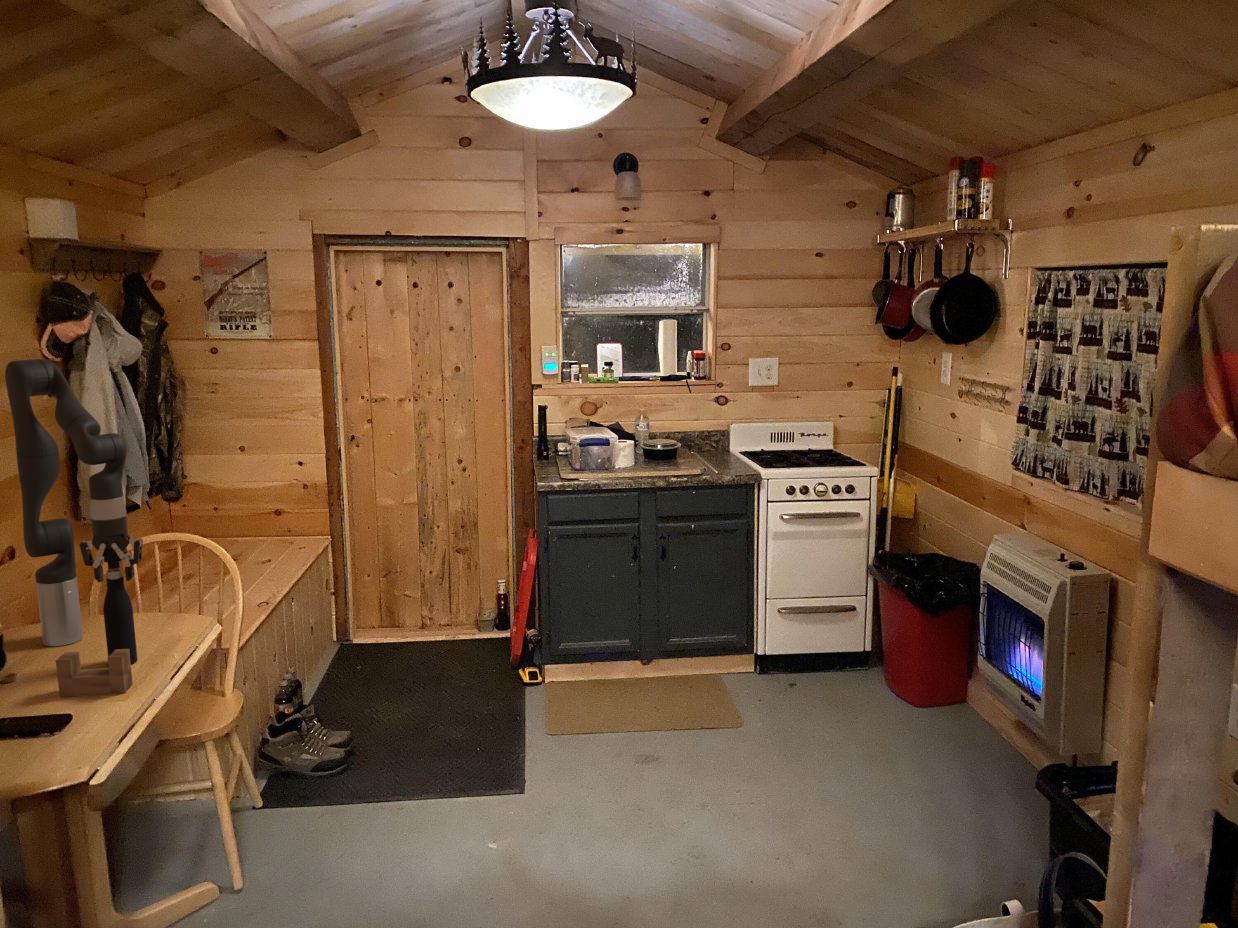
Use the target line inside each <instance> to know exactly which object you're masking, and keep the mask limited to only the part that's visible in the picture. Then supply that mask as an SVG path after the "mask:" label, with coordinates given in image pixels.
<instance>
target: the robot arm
mask: <svg viewBox="0 0 1238 928" xmlns="http://www.w3.org/2000/svg"><path fill="white" fill-rule="evenodd" d="M4 377H5V380H4V381H5V387H6V391H7V395H8V396H7V397H8V400H9V406H10V411H11V415H12V422H13V428H14V429H13V430H14V439H15V452H16V454H15V455H16V463H17V469H18V470H17V471H18V472H17V473H18V477H19V483H20V484H19V485H20V491H21V500H22V501H21V502H22V503H21V504H22V527H23V533H22V534H23V544H24V548H25V550H26V551H25V552H26V553H27V555H28V556H29V557H30V558H43V557H49V556H53V555H54V556H55V555H57V556H56V557H55V558H54V559H53V560H51V561H50V562H48V563H47V564H45V565H44V566H41V567H39V568H38V569H37V570H36V571H35V574H34V577H35V587H36V594H37V603H38V611H39V620H40V627H41V638H42V644H43V646H47V647H59V646H60V647H61V646H66V645H71V644H74V643H77V642H80V640H82V639H83V638H84V635H83V634H84V633H83V623H82V616H81V615H82V614H81V606H80V596H79V586H78V579H77V564H76V552H75V550H76V549H75V533H74V528H73V525H72V522H71V521H70V520H69V519H68V518H66V517H63V518H62V517H61V518H54V519H47V520H40V517H41V512H42V507H43V505H44V502H45V500H46V497H47V496H48V495H49V493H50V491H51V490H52V488H53V486H54V484H56V482H57V479H58V478H59V477H60V476H59V475H60V473H61V459H60V452H59V445H58V443H57V442H56V440H55V439H54V437H53V436H52V435H51V434H50V433H49V431H48V430H47V429H46V428H45V427H44V426H43V425H42V423H40V421H39V420H38V418H37V416H35V413H34V410H33V407H32V403H31V397H40V396H47V395H50V396H52V398H54V399H55V400H56V402H55V408H54V417H55V420H56V422H57V424H58V426H59V428H61V429H62V431H64V433H65V434H66V435H67V436H68V437H69V438H70V439H71V442H72V444H73V447H74V449H75V452H76V455H77V457H78V459H79V460H80V462H82V463H84V464H86V465H88V466H95V465H96V466H97V465H104V464H105V465H104V467H103V469H102V470H101V471H99V472H96V473H94V474H92V475H90V476H89V477H88V478H89V479H88V487H89V498H90V500H89V502H90V504H89V505H90V506H89V509H90V519H91V530H92V540H87V539H85V540H83V541H82V542H80V543H79V548H80V552H81V556H82V560H83V564H84V565H85V566H86V567H92V569H93V572H94V573H93V575H94V580H95V581H96V582H97V583H102V582H104V579H105V578H104V577H105V576H104V568H103V565H102V563H103V562H104V550H113V549H114V550H115V551H116V553H117V555H118V556H119V558H120V559H121V561H122V562H123V563H124V565H125V567H124V571H125V581H126V582H130V581H131V580H132V579H134V577H135V567H134V565H138V564H139V563H140V562H141V561H142V559H143V557H142V556H143V555H142V554H143V545H144V543H143V542H144V540H143V538H138V539H135V538H130V536H129V532H128V531H129V530H128V520H127V509H126V502H125V500H124V498H125V497H124V491H123V490H124V489H123V475H124V470H125V464H126V460H127V456H128V455H127V454H128V447H127V442H126V440H125V439H124V437H122V436H121V435H120V434H119V433H105V434H101V431H102V430H101V429H102V427H101V425H100V423H99V422H98V421H97V419H96V418H95V417H94V416H93V415H92V414H91V413H90V412H89V411H88V410H87V409H86V408H85V407H84V406H83V405H82V403H81V402H80V401H79V399H78V398H77V396H76V394H75V392H74V390H73V389H72V387H71V386H70V384H69V382H68V380H67V379H66V377H65V376H64V374H63V373H62V371H61V369H60V368H59V367H58V365H56V364H55V363H54V362H53V361H52V360H49V359H45V358H38V359H35V358H33V359H20V360H11V361H9V362H8V363H7V365H6V367H5V372H4ZM129 545H130V546H131V548H132V549H133V554H132V555H133V557H132V556H131V553H130V551H129V549H128V548H127V547H128V546H129ZM92 547H94V548H95V549H96V550H97V552H96V556H95V557H94V556H93V553H92V549H93V548H92ZM93 557H94V558H93Z"/></svg>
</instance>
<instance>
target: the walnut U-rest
mask: <svg viewBox="0 0 1238 928" xmlns="http://www.w3.org/2000/svg"><path fill="white" fill-rule="evenodd" d="M55 666H56V675H57V684H58V693H59V698H72V697H73V698H74V697H85V696H102V695H103V696H105V695H119V694H126V692H128V691H129V689H131V687H132V686H133V684H134V683H133V674H132V673H133V672H132V665H131V662H130V652H129V649H116V650H115V651H114V652H113V653H112V654H111V655H110V656H109V657H108V656H107V667H104V668H103V667H102V668H100V667H99V668H84V669H83V668H82V669H81V660H80V651H65V652H64V653H63V654H61V655H60V656H59V657H58V658H57V659H55Z"/></svg>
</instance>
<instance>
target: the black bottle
mask: <svg viewBox="0 0 1238 928" xmlns="http://www.w3.org/2000/svg"><path fill="white" fill-rule="evenodd" d="M121 561H122V560H121V559H120V558H119V556H118V555H117V553H116V551H115V550H114V549H113V550H104V559H103V562H104V563H106V564H107V573H106V576H107V578H106V587H107V588H106V589H107V590H106V593H105V596H104V599H103V610H102V611H103V621H104V629H105V630H104V632H105V641H106V649H107V650H106V651H107V658H108V657H109V656H110V655H111V654H112V653H113V652H114V651H115V650H116V649H129V652H130V662H131V666H132V665H134V664H135V663H137V662H138V653H137V641H136V632H135V630H136V629H135V621H134V619H135V618H134V609H133V604H132V601H131V598H130V595H129V593H128V592H127V590H126V586H125V579H124V576H123V574H122V573H123V571H122V569H121V566H120V562H121Z"/></svg>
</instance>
